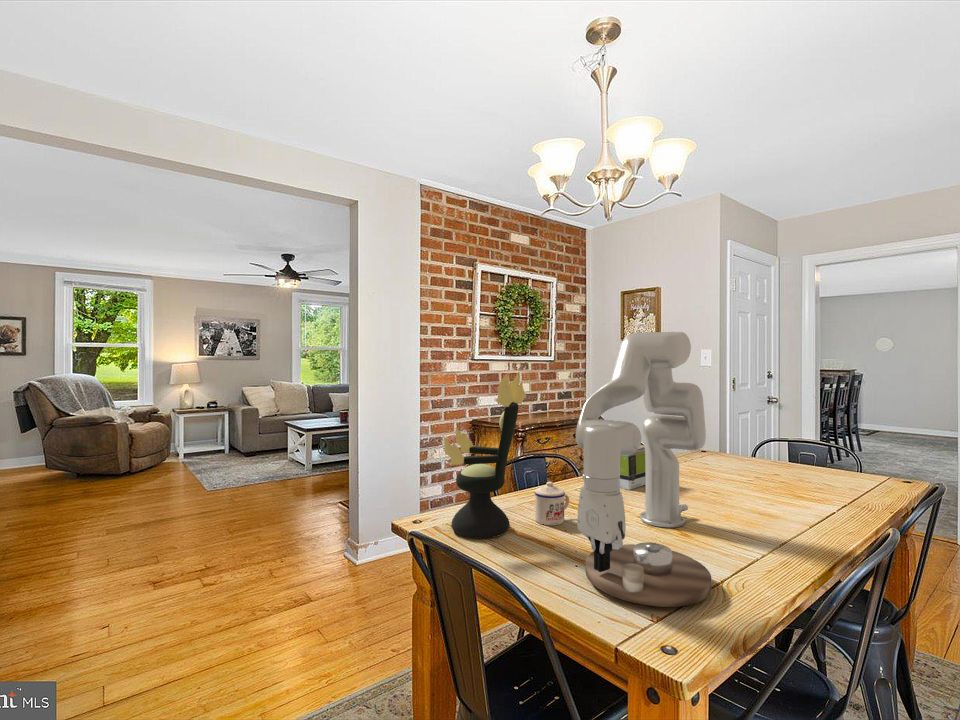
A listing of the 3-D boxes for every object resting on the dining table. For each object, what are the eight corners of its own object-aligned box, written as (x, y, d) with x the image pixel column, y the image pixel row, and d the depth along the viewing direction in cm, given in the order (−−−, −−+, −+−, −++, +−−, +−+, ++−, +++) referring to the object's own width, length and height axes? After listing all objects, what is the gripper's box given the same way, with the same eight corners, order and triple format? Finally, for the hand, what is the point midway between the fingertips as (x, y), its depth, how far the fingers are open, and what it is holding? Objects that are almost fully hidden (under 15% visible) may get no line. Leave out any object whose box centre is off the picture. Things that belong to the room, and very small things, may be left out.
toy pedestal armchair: (454, 517, 151) (453, 371, 151) (526, 519, 149) (526, 371, 148) (443, 540, 132) (443, 373, 132) (526, 543, 130) (525, 373, 129)
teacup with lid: (547, 528, 141) (547, 488, 141) (528, 519, 149) (528, 481, 149) (578, 520, 147) (578, 482, 147) (558, 512, 155) (558, 475, 155)
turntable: (605, 544, 125) (605, 521, 125) (717, 567, 112) (717, 541, 112) (568, 585, 103) (568, 557, 103) (702, 620, 90) (702, 587, 89)
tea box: (629, 478, 197) (628, 442, 197) (651, 483, 189) (651, 445, 189) (606, 485, 187) (606, 446, 187) (629, 490, 180) (629, 450, 179)
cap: (631, 559, 112) (631, 537, 112) (668, 561, 110) (668, 539, 110) (636, 574, 104) (636, 551, 104) (675, 577, 103) (675, 553, 102)
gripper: (564, 478, 109) (565, 561, 109) (616, 494, 96) (616, 587, 96) (589, 474, 113) (589, 553, 113) (642, 489, 100) (642, 578, 100)
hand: (601, 569), depth 104 cm, fingers closed
